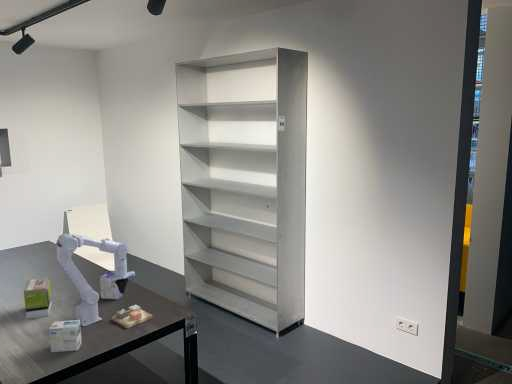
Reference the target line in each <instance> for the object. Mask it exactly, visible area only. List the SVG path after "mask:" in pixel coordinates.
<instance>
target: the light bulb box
mask: <svg viewBox="0 0 512 384" xmlns="http://www.w3.org/2000/svg"><path fill="white" fill-rule="evenodd" d="M48 329H49V341H50V342H49V343H50V352H51V353H59V352H73V351H78V350H79V349H80V347H81V345H82V332H81V331H82V327H81V325H80V320H76V319H73V320H63V321H62V320H60V321H56V320H55V321H53V323H52V324H51V325H50V327H49V328H48Z"/></svg>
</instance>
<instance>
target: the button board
mask: <svg viewBox="0 0 512 384" xmlns="http://www.w3.org/2000/svg"><path fill="white" fill-rule="evenodd" d="M127 311H128V317H125V318H122V319H119V318H118V317H116V314H115V315H113V316H111V320H112V321H113V322H115V323H117V324H119V325H120V326H122V327H124V328H125V329H129V328H131V327H134V326H137V325H139V324H141V323H143V322H146V321H149V320H151V319H153V314H151V313H149V312H147V311H145V310H144V309H141V314H142V318H140V319H137V320H132V319H131V318H130V317H129V313H130V312H129V309H128V310H127Z"/></svg>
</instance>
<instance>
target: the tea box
mask: <svg viewBox="0 0 512 384" xmlns="http://www.w3.org/2000/svg"><path fill="white" fill-rule="evenodd" d="M24 287H25V288H24V290H23V297H24V306H25V319H27V320H28V319H35V318H36V319H37V318H42V317H44V318H45V317H49V316H50V315H49V314H50V312H51V308H52V307H51V306H52V296H51V295H52V293H51V283H50V277H43V278H42V277H41V278H34V279H28V280H27V282H26V285H25V286H24Z"/></svg>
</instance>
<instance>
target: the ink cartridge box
mask: <svg viewBox="0 0 512 384" xmlns="http://www.w3.org/2000/svg"><path fill="white" fill-rule="evenodd" d="M114 275H115V270H108V272H107V273H104V274H102V275H101V276H100V277H99V280H100V299H105V300H107V299H109V300H119V299H120V298H122V297H123V293H122V294H121V293H120V292H119V289H118V286H117V284H116V283H115V281H113V282H111V283H107V278H110V277H112V276H114Z"/></svg>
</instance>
